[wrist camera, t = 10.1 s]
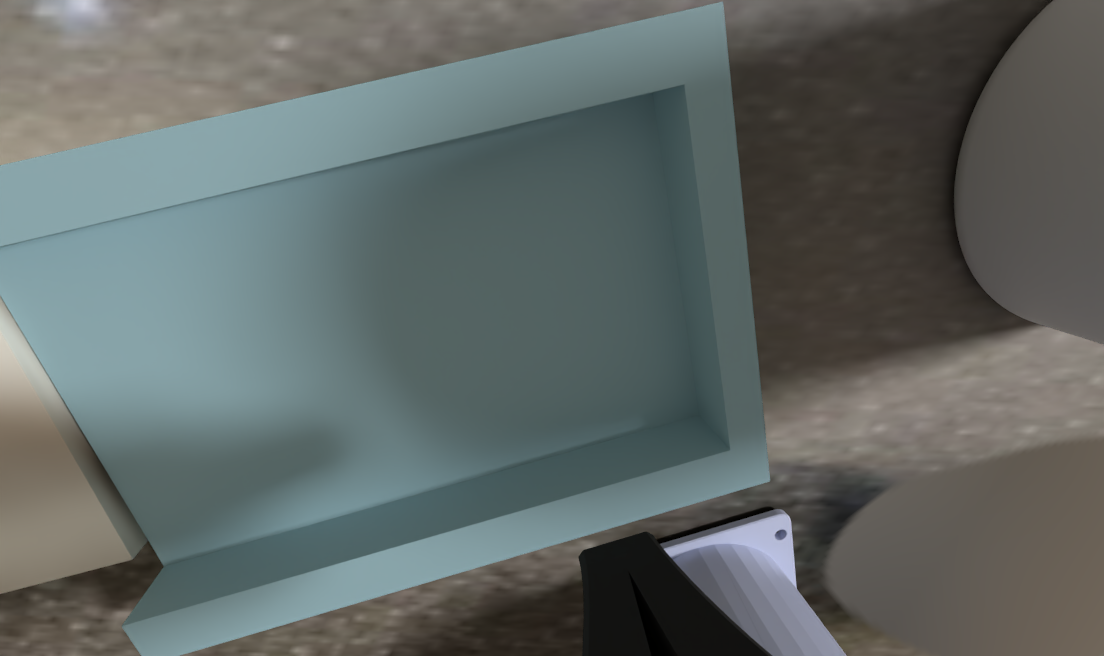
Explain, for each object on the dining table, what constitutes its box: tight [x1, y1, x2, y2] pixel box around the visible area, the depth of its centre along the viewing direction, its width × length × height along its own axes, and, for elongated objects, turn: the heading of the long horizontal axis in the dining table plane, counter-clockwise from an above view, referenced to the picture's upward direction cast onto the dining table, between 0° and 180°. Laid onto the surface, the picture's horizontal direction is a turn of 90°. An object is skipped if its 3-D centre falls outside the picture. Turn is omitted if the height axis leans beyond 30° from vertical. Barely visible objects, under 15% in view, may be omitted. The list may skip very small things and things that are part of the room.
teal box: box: [0, 2, 770, 656], centre depth 16 cm, size 20×14×3 cm
